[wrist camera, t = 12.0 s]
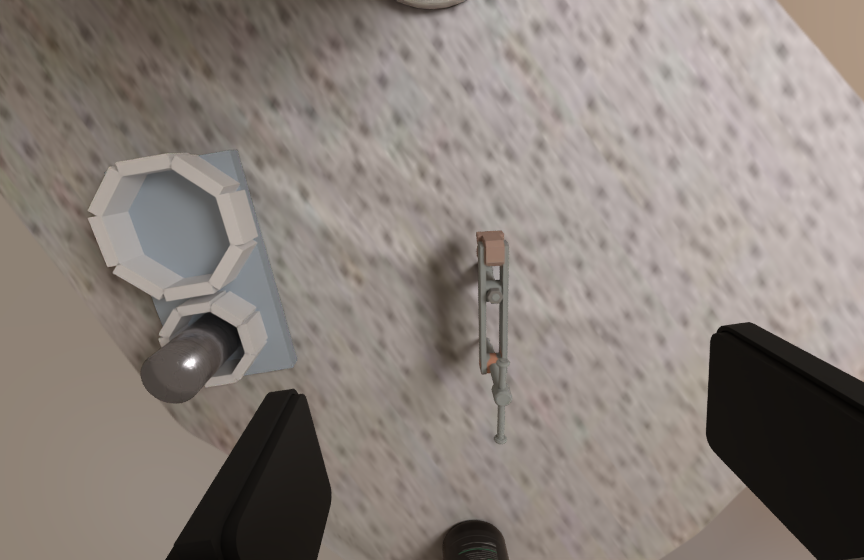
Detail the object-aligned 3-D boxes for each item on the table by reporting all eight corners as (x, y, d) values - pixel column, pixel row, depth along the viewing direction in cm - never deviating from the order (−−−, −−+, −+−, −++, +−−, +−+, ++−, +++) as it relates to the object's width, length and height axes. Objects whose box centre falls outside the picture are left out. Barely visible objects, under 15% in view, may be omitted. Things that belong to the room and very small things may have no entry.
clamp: (470, 222, 36) (487, 260, 27) (496, 220, 36) (522, 258, 27) (473, 373, 42) (488, 448, 33) (496, 372, 42) (517, 446, 33)
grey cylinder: (191, 314, 37) (131, 358, 29) (236, 305, 37) (187, 347, 29) (207, 355, 38) (153, 407, 31) (251, 346, 38) (208, 398, 30)
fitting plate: (112, 168, 35) (68, 170, 31) (239, 145, 35) (214, 144, 30) (190, 377, 40) (162, 404, 36) (300, 359, 40) (286, 384, 36)
